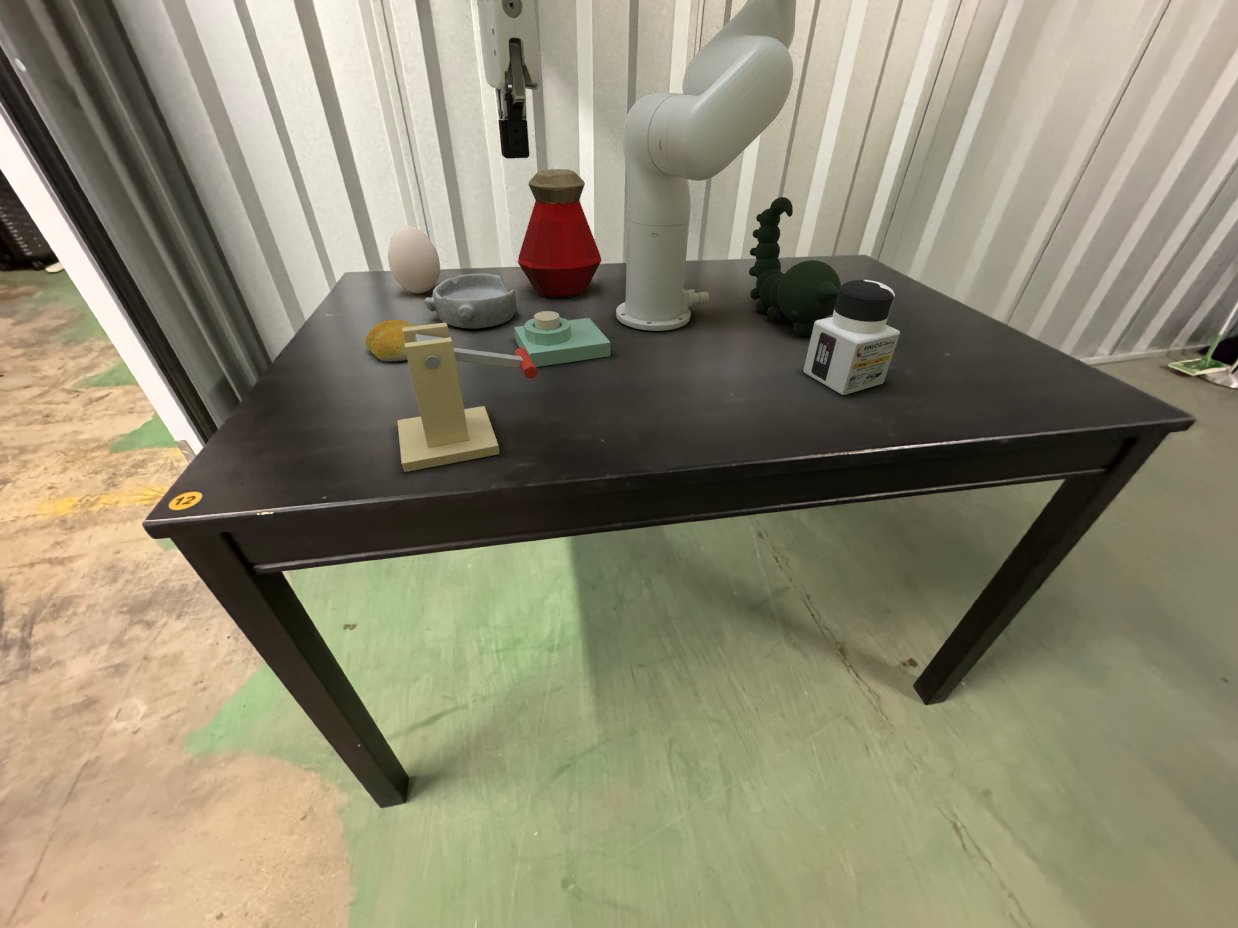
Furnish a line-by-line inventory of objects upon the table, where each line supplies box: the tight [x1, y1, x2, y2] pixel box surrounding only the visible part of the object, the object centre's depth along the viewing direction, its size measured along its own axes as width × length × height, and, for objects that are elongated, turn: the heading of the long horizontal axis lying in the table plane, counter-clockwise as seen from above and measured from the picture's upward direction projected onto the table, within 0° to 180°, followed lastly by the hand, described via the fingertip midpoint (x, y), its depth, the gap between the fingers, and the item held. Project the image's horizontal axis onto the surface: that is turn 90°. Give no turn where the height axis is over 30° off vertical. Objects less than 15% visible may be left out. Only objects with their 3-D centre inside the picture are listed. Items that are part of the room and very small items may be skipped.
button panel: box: [513, 316, 612, 368], centre depth 82 cm, size 12×10×4 cm
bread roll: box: [364, 319, 415, 362], centre depth 80 cm, size 8×9×4 cm
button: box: [533, 310, 560, 330], centre depth 80 cm, size 4×4×2 cm
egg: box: [387, 225, 441, 294], centre depth 98 cm, size 9×9×12 cm
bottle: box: [517, 168, 602, 299], centre depth 98 cm, size 16×14×20 cm
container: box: [802, 279, 901, 396], centre depth 72 cm, size 8×8×13 cm
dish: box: [424, 273, 517, 329], centre depth 91 cm, size 14×14×5 cm
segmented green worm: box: [748, 196, 842, 337], centre depth 88 cm, size 9×19×25 cm
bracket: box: [397, 322, 500, 473], centre depth 58 cm, size 10×9×13 cm
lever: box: [415, 334, 538, 380], centre depth 58 cm, size 12×5×2 cm, turn 110°
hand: (515, 157), depth 69 cm, fingers closed
